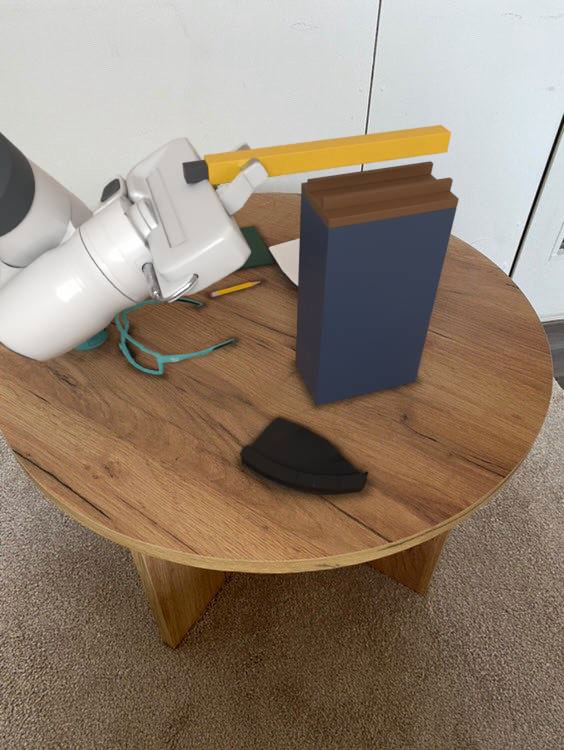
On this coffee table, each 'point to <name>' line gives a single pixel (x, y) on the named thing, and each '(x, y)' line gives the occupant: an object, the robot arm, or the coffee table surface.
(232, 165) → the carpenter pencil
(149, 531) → the coffee table surface
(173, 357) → the sunglasses
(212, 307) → the coffee table surface
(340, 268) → the blue tall block
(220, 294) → the pencil
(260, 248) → the rubber mat
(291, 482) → the curved wedge
